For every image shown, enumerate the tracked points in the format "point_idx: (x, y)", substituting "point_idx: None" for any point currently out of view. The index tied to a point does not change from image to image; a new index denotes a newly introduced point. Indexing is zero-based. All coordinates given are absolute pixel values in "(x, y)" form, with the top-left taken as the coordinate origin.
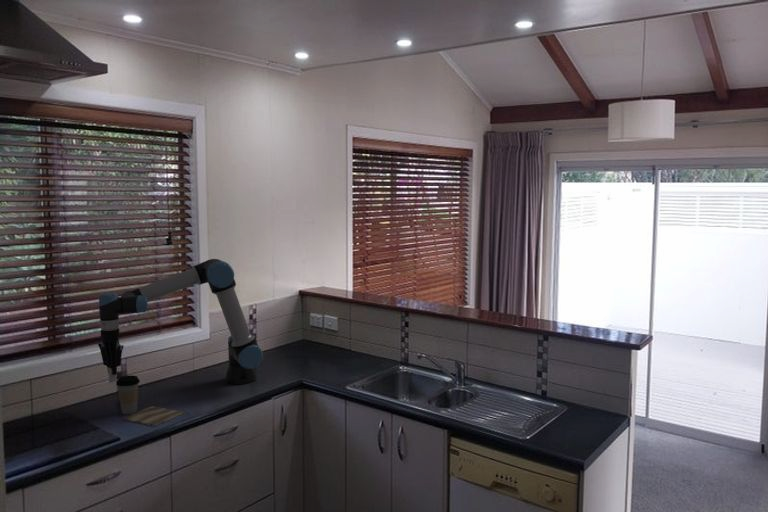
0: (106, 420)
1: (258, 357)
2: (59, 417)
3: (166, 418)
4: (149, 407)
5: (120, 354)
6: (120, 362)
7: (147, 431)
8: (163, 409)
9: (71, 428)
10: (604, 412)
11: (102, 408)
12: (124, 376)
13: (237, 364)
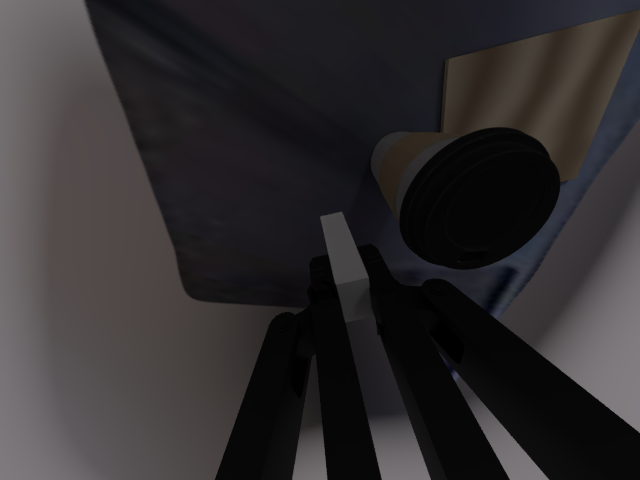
0: (390, 240)
1: None
2: (261, 300)
3: (590, 118)
4: (450, 81)
5: (624, 443)
6: (474, 303)
7: (560, 211)
8: (529, 53)
9: None
10: None
11: (281, 201)
12: (438, 214)
13: None
